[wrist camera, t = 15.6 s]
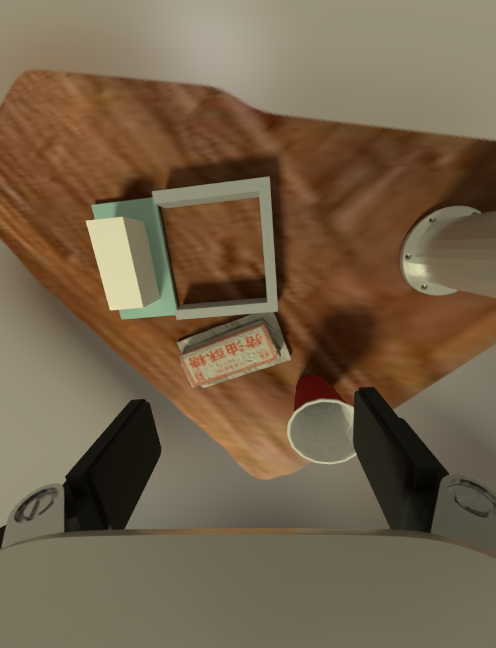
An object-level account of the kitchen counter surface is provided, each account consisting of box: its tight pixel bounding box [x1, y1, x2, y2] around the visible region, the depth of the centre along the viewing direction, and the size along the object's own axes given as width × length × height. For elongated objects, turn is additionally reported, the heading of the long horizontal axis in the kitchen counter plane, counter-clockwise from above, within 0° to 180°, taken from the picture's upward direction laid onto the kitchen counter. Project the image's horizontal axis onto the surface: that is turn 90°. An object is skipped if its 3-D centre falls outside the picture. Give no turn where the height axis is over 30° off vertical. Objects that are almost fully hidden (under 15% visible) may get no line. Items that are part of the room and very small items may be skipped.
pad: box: [91, 197, 178, 319], centre depth 39 cm, size 10×18×1 cm, turn 6°
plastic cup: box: [287, 374, 357, 464], centre depth 39 cm, size 11×11×12 cm
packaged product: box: [177, 312, 291, 389], centre depth 41 cm, size 18×5×10 cm
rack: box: [152, 177, 278, 320], centre depth 36 cm, size 16×18×4 cm
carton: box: [86, 217, 160, 310], centre depth 36 cm, size 5×12×6 cm, turn 5°
